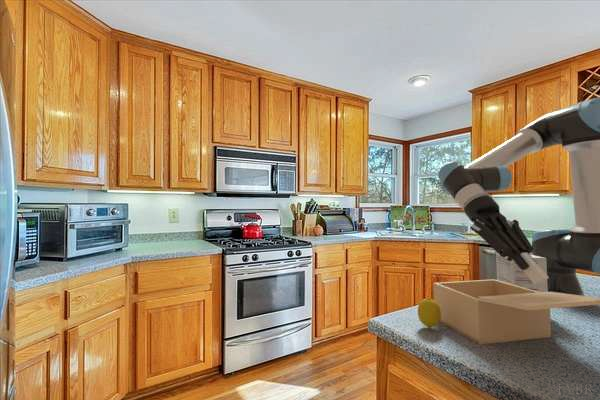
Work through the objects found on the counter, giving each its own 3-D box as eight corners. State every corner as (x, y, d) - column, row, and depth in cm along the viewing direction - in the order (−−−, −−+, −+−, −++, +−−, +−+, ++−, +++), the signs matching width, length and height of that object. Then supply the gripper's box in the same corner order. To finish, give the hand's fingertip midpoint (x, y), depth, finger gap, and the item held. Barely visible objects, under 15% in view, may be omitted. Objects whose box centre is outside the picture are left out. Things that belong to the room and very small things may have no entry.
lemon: (431, 334, 71) (430, 301, 72) (413, 326, 76) (412, 296, 76) (446, 330, 74) (445, 298, 74) (427, 322, 79) (427, 293, 79)
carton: (494, 313, 85) (493, 279, 86) (551, 336, 70) (549, 295, 70) (434, 318, 82) (433, 282, 82) (479, 344, 66) (478, 300, 66)
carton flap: (549, 291, 70) (610, 299, 58) (550, 296, 70) (611, 304, 58) (478, 296, 66) (527, 305, 55) (478, 301, 66) (528, 311, 54)
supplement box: (550, 317, 82) (548, 257, 83) (514, 316, 83) (513, 257, 84) (528, 306, 92) (526, 252, 92) (496, 305, 93) (495, 252, 93)
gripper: (489, 213, 83) (553, 288, 66) (449, 214, 80) (505, 292, 63) (505, 194, 78) (579, 269, 61) (463, 194, 75) (528, 273, 58)
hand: (541, 281), depth 62 cm, fingers closed
